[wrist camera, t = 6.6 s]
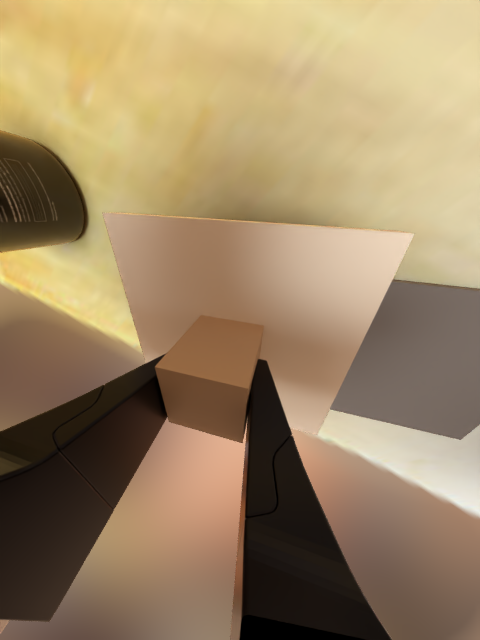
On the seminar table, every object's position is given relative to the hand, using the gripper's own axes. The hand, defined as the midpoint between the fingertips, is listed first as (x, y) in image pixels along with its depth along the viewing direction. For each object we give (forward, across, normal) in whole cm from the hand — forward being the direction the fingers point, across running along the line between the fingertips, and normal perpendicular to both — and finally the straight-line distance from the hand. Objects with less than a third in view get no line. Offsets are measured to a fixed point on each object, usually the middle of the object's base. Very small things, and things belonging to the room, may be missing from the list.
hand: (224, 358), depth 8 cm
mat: (+8, -13, +4) cm, 16 cm away
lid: (+2, 0, 0) cm, 2 cm away
